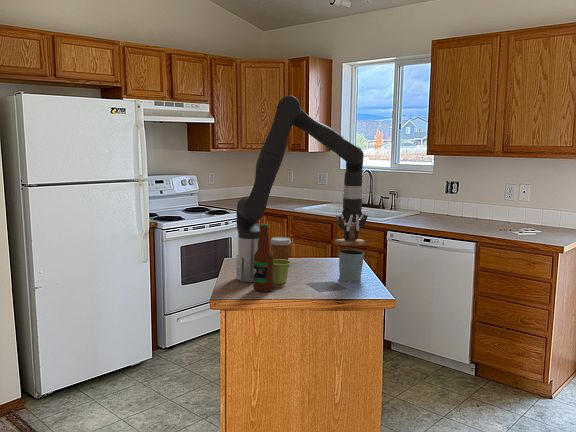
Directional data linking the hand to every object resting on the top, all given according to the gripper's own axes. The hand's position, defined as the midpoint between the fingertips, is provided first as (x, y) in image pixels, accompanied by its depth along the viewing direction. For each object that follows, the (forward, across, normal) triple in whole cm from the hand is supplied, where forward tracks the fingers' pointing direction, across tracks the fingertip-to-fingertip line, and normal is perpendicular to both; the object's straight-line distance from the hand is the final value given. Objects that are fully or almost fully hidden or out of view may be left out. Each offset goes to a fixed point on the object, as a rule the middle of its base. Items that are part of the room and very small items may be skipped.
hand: (351, 239), depth 210 cm
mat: (+17, -14, -7) cm, 23 cm away
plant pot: (+17, -29, +5) cm, 34 cm away
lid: (+2, 0, +1) cm, 2 cm away
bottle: (+17, -38, -2) cm, 42 cm away
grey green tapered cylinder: (+17, 0, 0) cm, 17 cm away
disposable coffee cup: (+17, -17, +33) cm, 41 cm away
